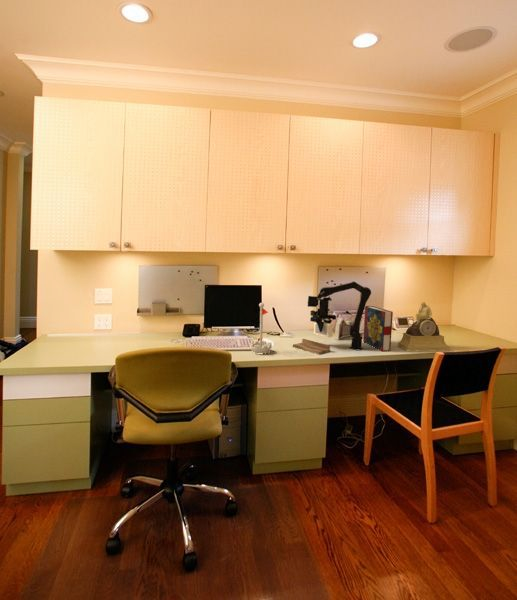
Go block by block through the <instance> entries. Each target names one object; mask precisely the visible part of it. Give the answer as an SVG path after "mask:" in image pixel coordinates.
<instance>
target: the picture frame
mask: <svg viewBox="0 0 517 600" xmlns="http://www.w3.org/2000/svg"><path fill="white" fill-rule="evenodd" d="M323 322H324V321H323ZM333 325H334V324H333V323H325V322H324V324H323V328H322V331H321V332H320V331H319V328H318V325H317V323H316V322H313V335H317V336H320V337H325V338H332V337H333V329H334V326H333Z"/></svg>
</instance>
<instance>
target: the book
mask: <svg viewBox="0 0 517 600" xmlns="http://www.w3.org/2000/svg"><path fill="white" fill-rule="evenodd" d="M393 315H394V312H393V311H391V310H387V309H385V308H381V307H377V306H373V305H365V308H364V319H363V321H364V322H363V336H362V343H363V342H364V343H363V344H365V343H367V344H369V345H371V346H370V347H372V346H373V347H372V348H374V347H375V348H374V349H376V348H377V349H376V350H378V349H379V350H378V351H380V350H382V351H381V352H384V351H388V350H390V351H391V345H392V332H393V331H392V328H393ZM367 344H366V345H367ZM369 345H368V346H369Z"/></svg>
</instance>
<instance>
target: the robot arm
mask: <svg viewBox="0 0 517 600" xmlns="http://www.w3.org/2000/svg"><path fill="white" fill-rule="evenodd" d="M352 289H354V290H356V291H357V292H359V302H358V306H357V309H356V313H355V317H354V320H353V323H352V324H351V323H350V327H349V329H348V330H349V333H350V335H351V336H350V337H352V338H351V345H350V347H349V349H351V348H353V349H352V350H355V349H360V350H363V349H362V348H363V347H362V345H363V336H362V334H361V333H360V327H361V321H362V318H363V314H364V312H365V306H367V305H366V304H367V302H368V300H369V299H370V296H371V295H372V291H371V290H372V289H370V288H369V287H368V286H363V285H362V284H359V283H358V282H356V281H354V280H353V281H350V282H348V283H344V284H339V285H334V286H323V287H321V288H320V289H319V293H318V294H317V296H315V295H313V296H312V295H308V297H307V298H308V299H307V307H308V308H310V307H311V308H317V307H318V306H319V307H318V308H317V310H310V313H309V314H310V319H309V320H310V322H312V323H314V322H316V323H317V325H318V328H319V331H320V332H321V331H322V328H323V324H324V322H325V323H330V324H332V322H333V321H335V320H337V316H336V314H331V313H329V312H330V311H331V310H330V308H329V305H330V303H329V301H330V302H331V301H332V300H333V299H332V298H331V295H333V294H336V293H339V292H343V291H348V290H352Z"/></svg>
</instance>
